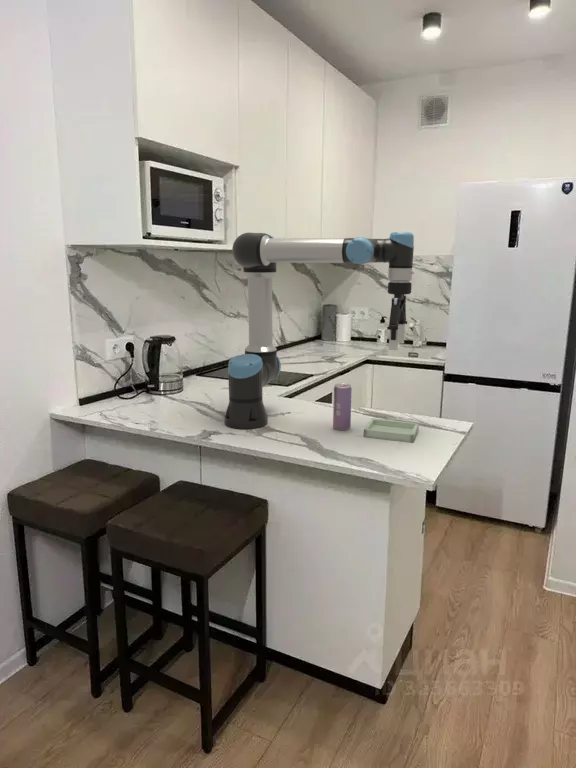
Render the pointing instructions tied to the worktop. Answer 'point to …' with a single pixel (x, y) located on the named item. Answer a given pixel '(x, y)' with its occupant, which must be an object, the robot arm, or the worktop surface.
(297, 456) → the worktop surface
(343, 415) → the beverage can
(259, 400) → the robot arm
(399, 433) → the tray
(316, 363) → the worktop surface
